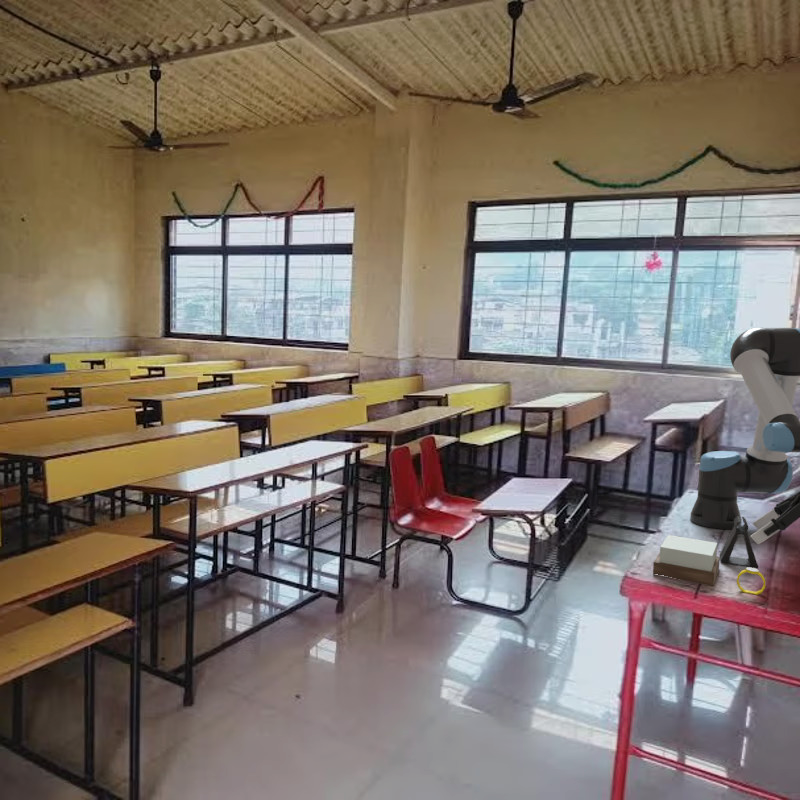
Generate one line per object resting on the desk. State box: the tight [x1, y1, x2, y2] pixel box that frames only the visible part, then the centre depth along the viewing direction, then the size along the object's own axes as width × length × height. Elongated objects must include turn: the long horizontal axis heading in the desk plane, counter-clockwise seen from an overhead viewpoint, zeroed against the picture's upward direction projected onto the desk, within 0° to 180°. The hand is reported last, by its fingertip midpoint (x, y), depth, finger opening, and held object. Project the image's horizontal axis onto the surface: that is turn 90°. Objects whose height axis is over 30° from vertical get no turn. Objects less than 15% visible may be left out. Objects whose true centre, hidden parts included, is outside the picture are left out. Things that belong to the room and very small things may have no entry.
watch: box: [736, 567, 766, 596], centre depth 155 cm, size 6×3×6 cm, turn 61°
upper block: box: [659, 534, 718, 572], centre depth 168 cm, size 12×12×4 cm
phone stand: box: [718, 516, 759, 569], centre depth 176 cm, size 9×6×12 cm, turn 66°
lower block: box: [652, 552, 720, 587], centre depth 169 cm, size 14×14×4 cm
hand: (755, 533), depth 173 cm, fingers open, 13 cm apart
